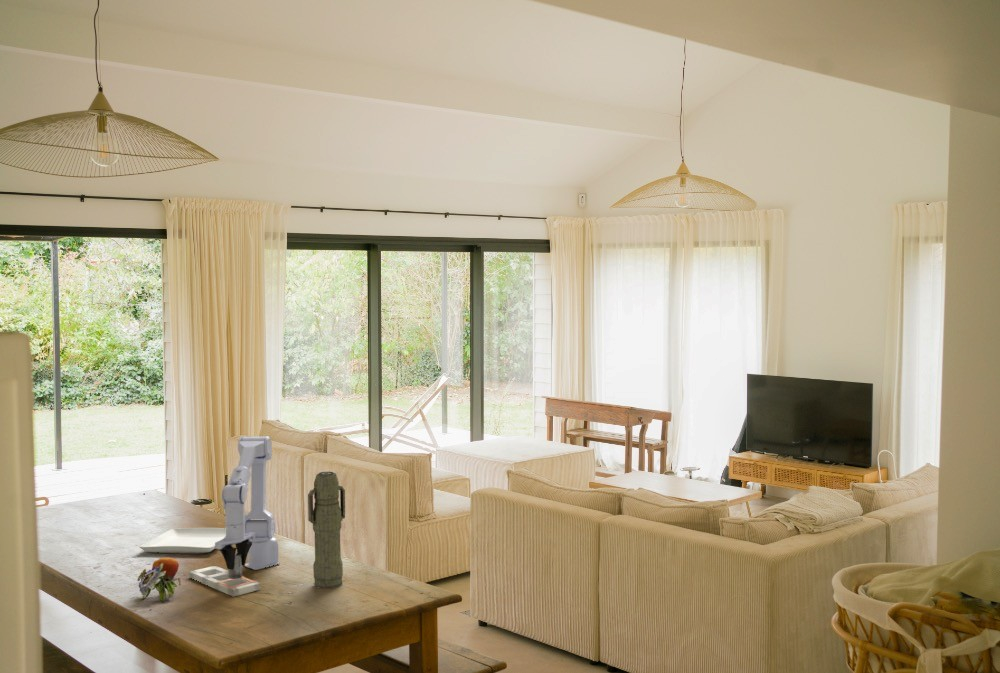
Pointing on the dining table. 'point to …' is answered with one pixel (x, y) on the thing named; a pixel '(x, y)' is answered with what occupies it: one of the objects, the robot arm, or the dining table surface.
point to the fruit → (167, 566)
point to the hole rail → (224, 581)
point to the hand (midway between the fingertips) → (236, 567)
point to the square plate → (185, 540)
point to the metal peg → (236, 567)
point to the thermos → (327, 529)
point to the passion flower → (156, 583)
